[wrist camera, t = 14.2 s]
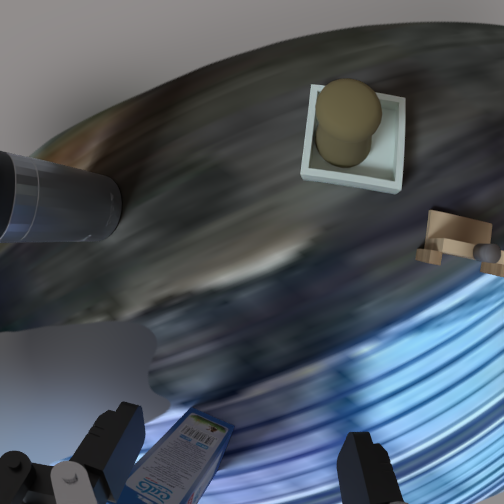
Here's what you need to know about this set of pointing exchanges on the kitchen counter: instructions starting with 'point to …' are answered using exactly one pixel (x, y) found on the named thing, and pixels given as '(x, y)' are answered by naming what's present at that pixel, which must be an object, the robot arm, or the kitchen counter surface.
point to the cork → (346, 122)
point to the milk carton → (179, 462)
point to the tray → (378, 160)
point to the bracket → (461, 242)
